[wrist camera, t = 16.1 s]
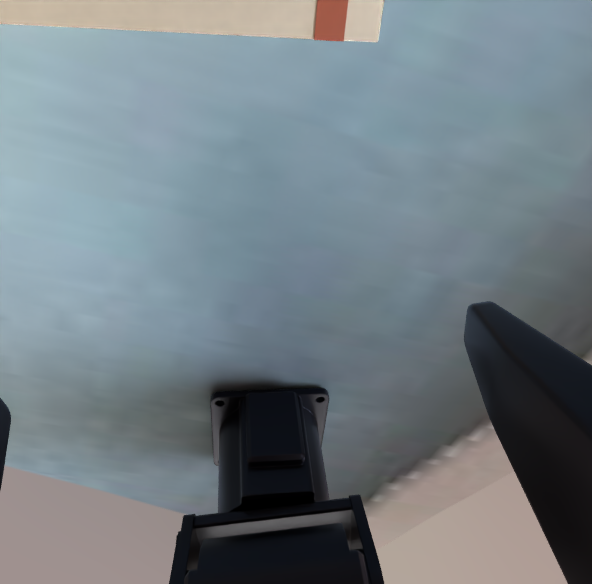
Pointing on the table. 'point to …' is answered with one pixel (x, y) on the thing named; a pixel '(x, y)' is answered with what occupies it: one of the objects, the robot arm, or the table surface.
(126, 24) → the napkin
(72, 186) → the table surface
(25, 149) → the table surface
